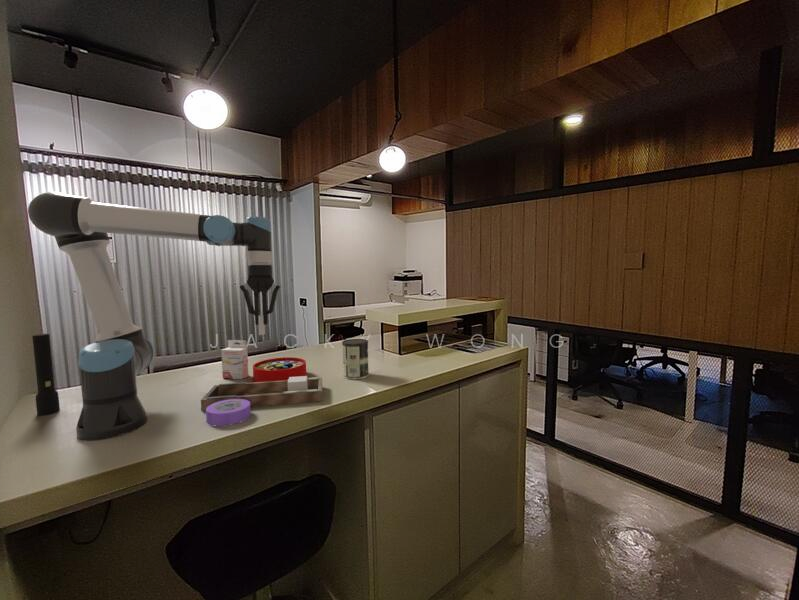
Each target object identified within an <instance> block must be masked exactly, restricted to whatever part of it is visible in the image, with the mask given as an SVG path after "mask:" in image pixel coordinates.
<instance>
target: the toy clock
mask: <svg viewBox="0 0 799 600" xmlns="http://www.w3.org/2000/svg"><path fill="white" fill-rule="evenodd" d="M252 375H253V376H252V379H253V380H254V381H253V382H268V381H282V380H288V379H289V377H299V376H307V361H306V360H305V359H303V358H301V357H288V356H287V357H284V356H283V357H275V358H268V359H264V360H260V361H258V362H255V363H254V364H253V365H252Z"/></svg>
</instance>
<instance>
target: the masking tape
mask: <svg viewBox="0 0 799 600" xmlns="http://www.w3.org/2000/svg"><path fill="white" fill-rule="evenodd" d="M250 414H252V413H251V407H250V402H249V401H248V400H244V399H229V400H223V401H219V402H216V403H213V404H211V405H209V406H208V407H207V408H206V411H205V416H206V424H207V423H208V425H209V424H210V425H209V426H212V425H216V426H215V427H224V426H223V425H228V426H231V425H230V424H233V425H236V424H235V423H237V424H239V423H238V422H240V421H242V422H244V421H243V420H245V419H246V420H248V419H249V418H250V417H251V415H250ZM249 416H250V417H249ZM248 417H249V418H248ZM247 418H248V419H247ZM246 420H245V421H246ZM240 423H241V422H240Z"/></svg>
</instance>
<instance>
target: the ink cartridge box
mask: <svg viewBox="0 0 799 600" xmlns="http://www.w3.org/2000/svg"><path fill="white" fill-rule="evenodd" d="M237 343H238V344H237ZM220 351H221V371H222V379H223V378H233V379H232V380H244V379H245V378H247V377H249V356H248V345H247V340H246V339H245V340H243V339H227V347H226V348H222V349H221V350H220ZM243 378H244V379H243Z"/></svg>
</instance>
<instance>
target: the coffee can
mask: <svg viewBox="0 0 799 600" xmlns="http://www.w3.org/2000/svg"><path fill="white" fill-rule="evenodd" d="M341 345H342V369H343V370H342V372H343V373H342V374H343V375H342V376H343V378H344V379H346V380H356V381H357V380H363V379H366V378H368V377H369V376H370V375H369V374H370V373H369V340H368V339H365V338H350V339H344V340H342V342H341Z"/></svg>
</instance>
